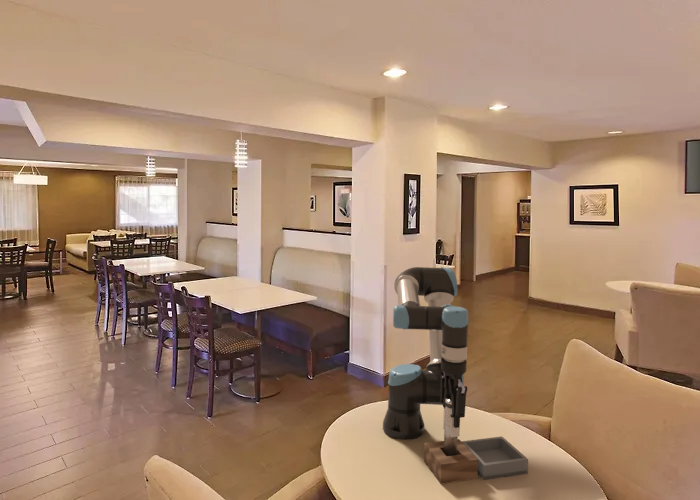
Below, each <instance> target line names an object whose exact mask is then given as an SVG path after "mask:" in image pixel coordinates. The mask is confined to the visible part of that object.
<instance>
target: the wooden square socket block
mask: <svg viewBox="0 0 700 500" xmlns="http://www.w3.org/2000/svg"><path fill="white" fill-rule="evenodd" d="M461 441H462V440H460V438H458V440H457V455H454V456H446V455H445V454H444V440H443V441H442V440H440V441H431V442H426V443H425V442H424V446H423V447H424V450H423V451H424V453H423V461H424V463H425V464H426V466H427V468H428V469H429V470H430V472H431V473H432V475H434V477H435V479H436V480H437V481H438V482H439V483H440V485H443V484H450V483H455V482H462V481H470V480H475V479H478V475H479V474H478V459H477V458H476V457H475V456H474V454H473V453H472V452H471V451H470V450H469V449H468V448H467V447H466V446H465V445H464V444H463V443H462V442H461Z"/></svg>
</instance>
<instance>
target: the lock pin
mask: <svg viewBox="0 0 700 500" xmlns="http://www.w3.org/2000/svg"><path fill="white" fill-rule="evenodd" d="M450 415H452V398H451V397H448V398H446V401H445V430H444V429H443V433H444V434H443V435H444V436H443V439H444V440H443V441H444V454H445V455H446V456H454V455H457V440H458V439H459V436H458V437H450V422H451V417H450Z"/></svg>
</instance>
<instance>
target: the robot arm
mask: <svg viewBox="0 0 700 500" xmlns="http://www.w3.org/2000/svg"><path fill="white" fill-rule="evenodd" d="M394 291H395V293H396V295H397V305H395V306H394V307H393V309H392V311H393V312H392V313H393V314H392V315H393V316H392V322H393V323H392V324H393V325H392V326H393V327H394V329H402V330H421V331H422V330H425V331H429V333H428V334H429V336H428V337H429V360H430V361H429V363H428V364H427V365H426V367H425V368H426V370H423V369H422V367H421V366H420V365H418V364H413V363H405V364H398V365H396V366H394V367H392V368H391V370H390V371H389V374H388V381H387V384H388V395H387V397H388V398H387V400H388V401H387V402H388V403H387V409H386V412H385V415H384V418H383V421H382V431H383V430H384V431H383V432H384V433H385V434H386V435H387V436H389V437H390V438H394V439H398V440H402V441H403V440H406V441H407V440H408V441H409V440H410V441H411V440H416V439H419V438H421V437H422V436H423V435H424V434H425V423H424V420H423V419H424V418H423V415H422V411H421V405H436V406H437V405H439V406H442V407H443V422H442V423H443V424H442V425H443V426H442V427H443V431H444V430H445V401H446V398H448V397H451V398H452V415H450V417H451V422H450V437H458V438H459V437H460V429H461V427H460V425H461V418H465V416H466V414H465V413H466V401H467V392H468V386H467V385H465V384H464V383H465V379H464V378H465V377H464V376H465V375H464V374H466V372H467V366H468V365H467V363H468V362H467V359H468V333H469V323H470V319H469V311H468V309H467V308H465V307H462V306H458V305H457V306H454V305H452V304H451V303H453V302H454V299H455V297H456V296H458V279H457V276H456V273H455V271H454V269H452V268H450V267H443V266H440V267H424V266H423V267H422V266H421V267H420V266H414V267H411V268H407V269H405V270H404V271H402V272H400V273H399V274H398V275H397V276H396V279H395V280H394ZM419 296H420V297H421V296H423V298H424V299H423V300H424V302H425V303H427V304H428V306H426V305H425V306H424V305H421V302H420V297H419ZM464 385H465V386H464Z"/></svg>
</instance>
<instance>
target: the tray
mask: <svg viewBox="0 0 700 500" xmlns="http://www.w3.org/2000/svg"><path fill="white" fill-rule="evenodd" d="M460 441H461V442H462V443H463V444H464V445H465V446H466V447H467V448H468V449H469V450H470V451H471V452H472V453H473V454H474V456H475V457H476V458H477V459H478V475H479V476H480V477H481V479H482V480H491V479H492V480H493V479H497V478H499V479H500V478H505V477H510V476H511V477H512V476H518V475H519V476H520V475H525V474H528V473H529V472H528V470H529V458H527V456H525V455H524V453H522V452H521V451H520V450H518V448H516V447H515V446H514V445H512V443H510V442H509V441H508V440H507V439H506V438H505V437H503V436H502V435H501V436H495V437H487V438H479V439H470V440H463V441H462V440H460Z"/></svg>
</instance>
